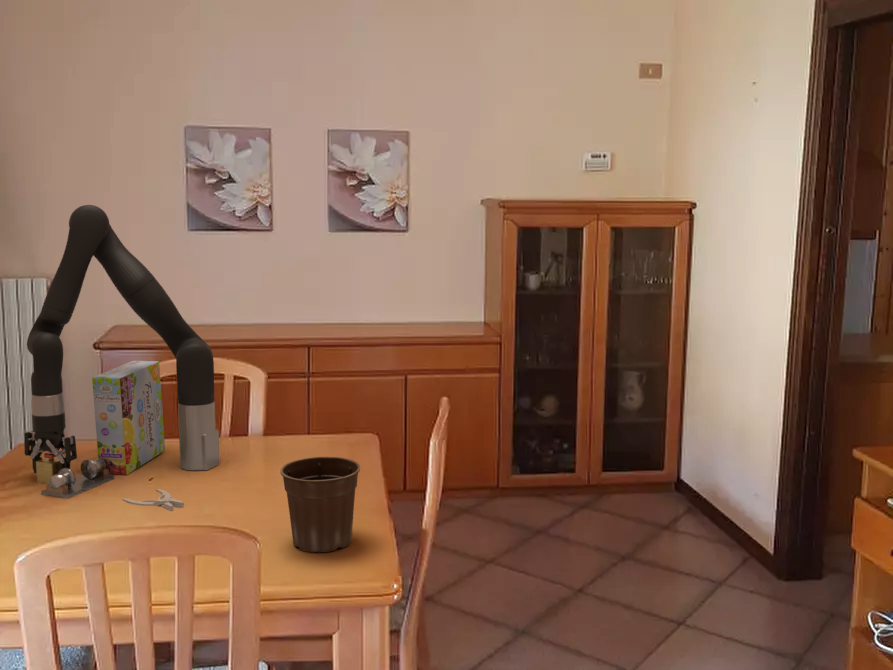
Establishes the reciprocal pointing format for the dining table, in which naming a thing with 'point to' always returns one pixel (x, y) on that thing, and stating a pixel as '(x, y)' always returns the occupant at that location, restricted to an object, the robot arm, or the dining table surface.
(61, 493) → the flanged cylinder mounting plate
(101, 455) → the snack box
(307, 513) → the plant pot
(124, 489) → the dining table surface
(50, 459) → the push button
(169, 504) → the pliers
